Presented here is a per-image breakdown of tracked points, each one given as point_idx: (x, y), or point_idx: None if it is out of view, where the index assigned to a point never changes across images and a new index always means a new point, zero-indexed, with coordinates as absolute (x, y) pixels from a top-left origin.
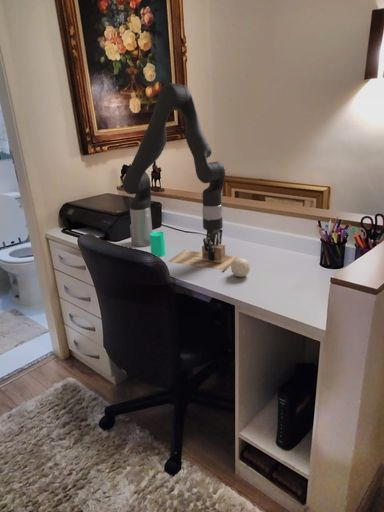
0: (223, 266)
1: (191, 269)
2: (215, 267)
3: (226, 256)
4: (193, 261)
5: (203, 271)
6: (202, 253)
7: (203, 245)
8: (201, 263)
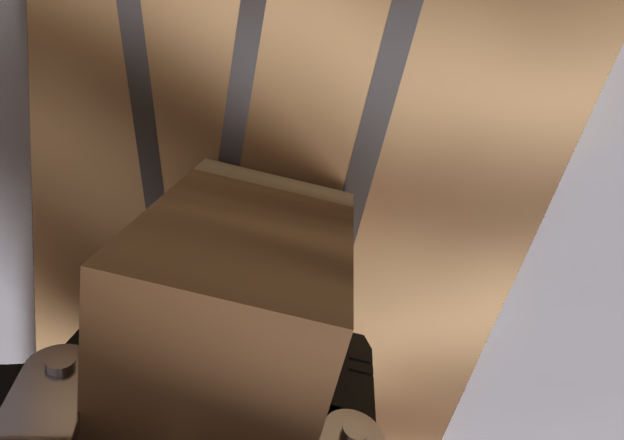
0: None
1: (7, 25)
2: (58, 334)
3: (420, 412)
4: (172, 7)
5: (8, 195)
6: (163, 198)
7: (155, 290)
8: (127, 153)
